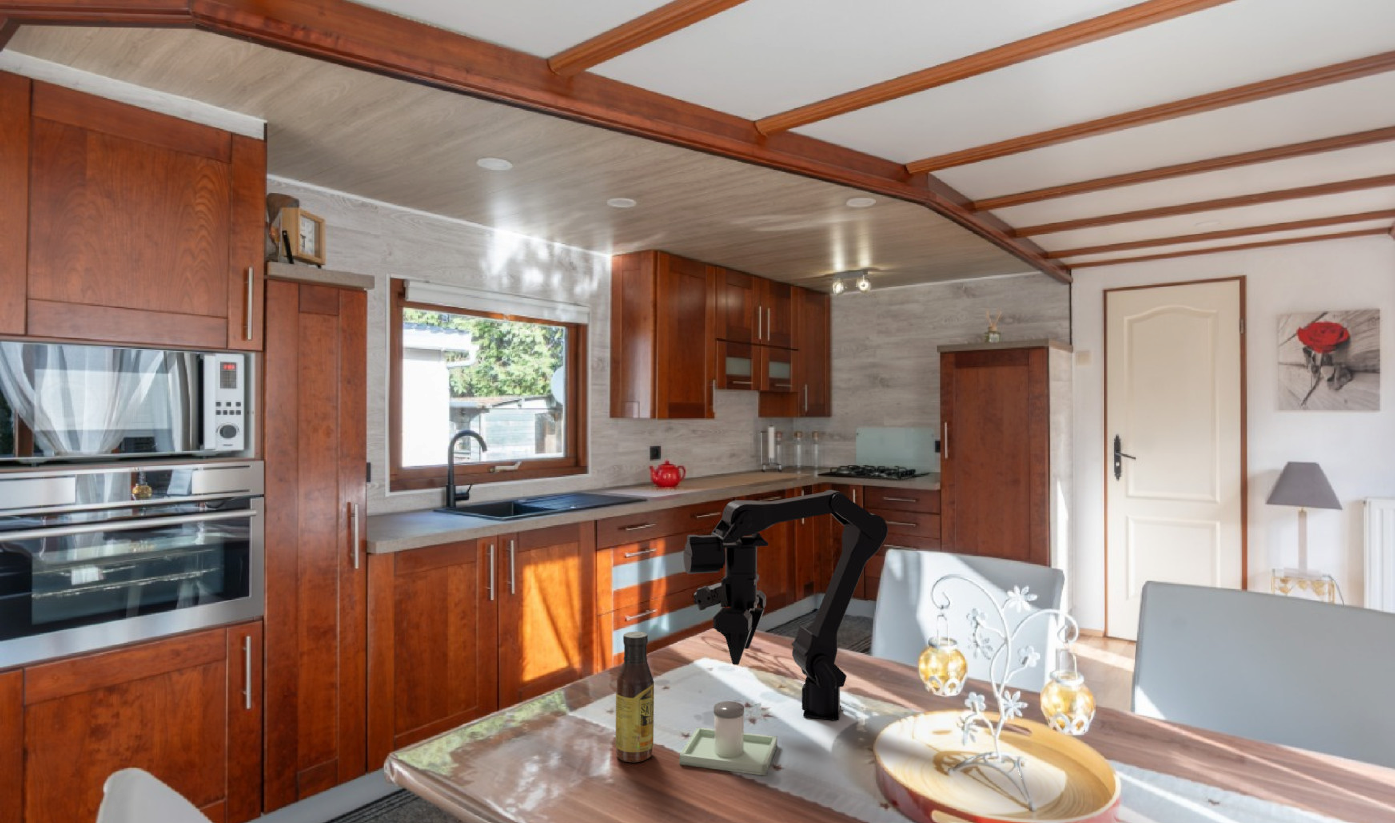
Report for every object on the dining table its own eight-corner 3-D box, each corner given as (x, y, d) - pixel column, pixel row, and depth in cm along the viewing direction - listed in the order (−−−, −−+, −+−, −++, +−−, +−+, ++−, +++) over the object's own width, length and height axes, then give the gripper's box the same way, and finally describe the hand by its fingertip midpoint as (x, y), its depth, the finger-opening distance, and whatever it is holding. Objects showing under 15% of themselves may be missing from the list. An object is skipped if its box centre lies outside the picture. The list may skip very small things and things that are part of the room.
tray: (777, 745, 129) (777, 736, 129) (765, 775, 118) (765, 765, 118) (697, 735, 132) (697, 727, 132) (679, 764, 122) (679, 754, 122)
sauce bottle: (647, 766, 121) (648, 642, 121) (610, 762, 122) (610, 639, 122) (658, 748, 127) (658, 630, 127) (622, 744, 129) (622, 628, 128)
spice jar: (747, 745, 127) (746, 702, 127) (741, 759, 122) (740, 714, 122) (718, 742, 128) (717, 699, 128) (710, 756, 123) (710, 711, 123)
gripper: (710, 558, 149) (710, 637, 149) (684, 579, 131) (684, 669, 131) (766, 561, 146) (766, 642, 146) (747, 583, 128) (747, 675, 128)
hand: (740, 656), depth 138 cm, fingers open, 9 cm apart
